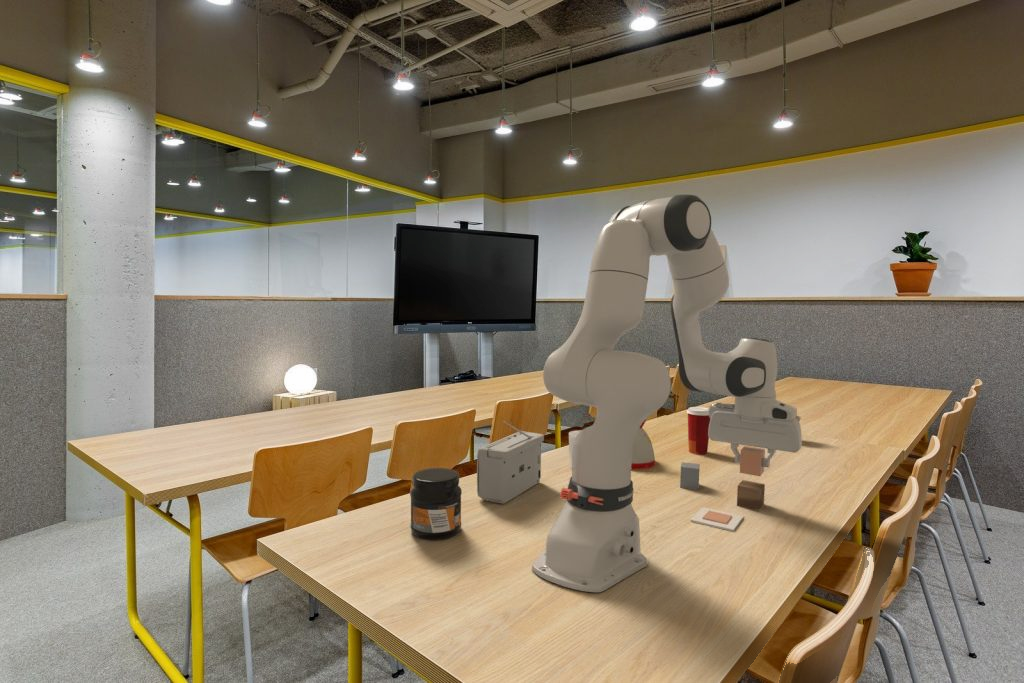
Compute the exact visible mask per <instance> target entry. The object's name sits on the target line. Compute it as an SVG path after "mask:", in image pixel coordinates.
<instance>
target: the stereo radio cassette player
mask: <svg viewBox="0 0 1024 683" xmlns="http://www.w3.org/2000/svg"><path fill="white" fill-rule="evenodd" d="M502 422H503V423H504V424H506V425H507V426H509V427H511V428H512V429H513V430H515V431H516V432H515V433H512V434H510V435H507V436H505V437H503V438H501V439H498V440H496V441H493V442H490V443H489V444H486V445H484V446H481V447H479V448H478V450H477V455H476V456H477V457H476V458H477V459H476V460H477V461H476V491H477V497H479V498H481V500H483V501H484V502H485V501H487V502H491V503H497V504H498V503H499V504H501V505H505V504H506V503H507V502H509V501H510V500H513V499H514V498H516V497H518V496H519V495H521V494H523V493H524V492H526V491H527V490H529V489H530V488H532V487H534V486H535V485H538V484H539V483H540V480H541V477H542V474H541V473H542V471H541V470H542V443H543V442H545V441H544V439H545V436H544V434H542V433H538V432H537V433H536V432H529V431H523V430H520V429H518V428H517V427H515V426H513V425H511V424H510V423H508V422H506V420H502Z"/></svg>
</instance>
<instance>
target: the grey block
mask: <svg viewBox="0 0 1024 683" xmlns="http://www.w3.org/2000/svg"><path fill="white" fill-rule="evenodd" d="M700 465H701V464H700V463H694V462H686V461H684V462H681V465H680V477H679V478H680V482H679V483H680V484H679V485H680V486H679V487H680V488H682V489H690V490H698V491H699V488H700V487H699V486H700V469H701V468H700V467H701V466H700Z"/></svg>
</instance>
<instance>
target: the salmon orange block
mask: <svg viewBox="0 0 1024 683" xmlns="http://www.w3.org/2000/svg"><path fill="white" fill-rule="evenodd" d="M765 455H766V448H760V447H753V446H746V445H743V447H742V448H741V449H740V463H739V473H740V474H745V475H750V476H755V477H761V476H762V475H763V474H764V472H765V467H762V459H763V458H766V456H765Z"/></svg>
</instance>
